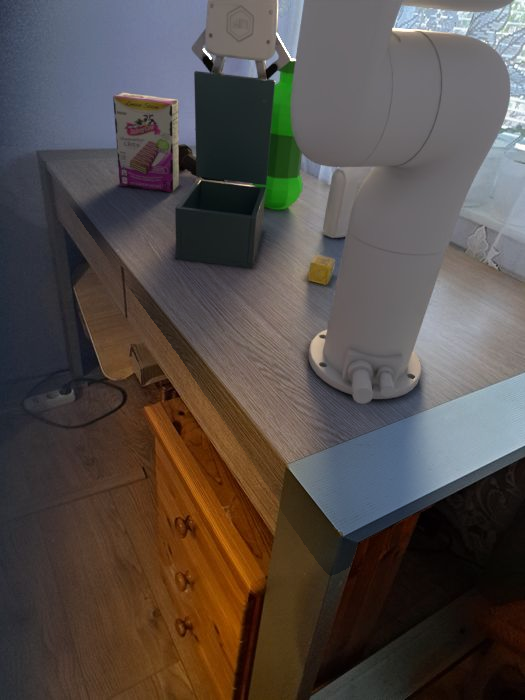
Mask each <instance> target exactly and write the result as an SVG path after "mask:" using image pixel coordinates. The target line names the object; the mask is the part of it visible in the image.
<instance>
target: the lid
mask: <svg viewBox="0 0 525 700" xmlns="http://www.w3.org/2000/svg"><path fill="white" fill-rule="evenodd" d="M193 76H194V78H193V79H194V83H193V84H194V119H195V120H194V122H195V123H194V124H195V126H194V127H195V157H196V176H195V177H196V178H201V177H203V178H211V179H219V180H225V181H226V182H235V183H237V182H238V183H243V184H244V183H246V184H251V185H252V184H261V185H266V184H267V174H268V162H269V150H270V137H271V125H272V113H273V101H274V89H275V85H276V79H271V78H269V79H262V78H258V77H253V76H242V75H235V74H234V75H233V74H225V73H223V74H218V73H210V72H209V71H198V70H195V71H194V72H193ZM203 178H202V179H203Z"/></svg>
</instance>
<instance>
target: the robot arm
mask: <svg viewBox="0 0 525 700" xmlns="http://www.w3.org/2000/svg"><path fill="white" fill-rule="evenodd" d="M515 1H516V0H303V6H302V12H301V20H300V25H299V33H298V38H297V39H298V40H297V41H298V42H297V47H296V53H295V59H296V60H295V67H294V75H293V83H292V92H291V124H292V130H293V135H294V138H295V141H296V144H297V146H298V148H299V149H300V151H301V152H302V156H304V157H305V158H307V159H308V160H309V161H310V162H312V163H314V164H317V165H320V166H324V167H328V168H329V167H331V168H339V167H373V169H372V170H371V172H370V173H369V175H368V176H367V178H366V179H365V181H364V182H363V184H362V186H361V187H360V189H359V191H358V193H357V195H356V198H355V200H354V203H353V206H352V209H351V213H350V217H349V222H348V228H347V233H346V236H345V238H344V243H343V248H342V253H341V258H340V264H339V268H338V274H337V279H336V284H335V287H334V288H335V289H334V293H333V298H332V299H333V300H332V304H331V308H330V314H329V319H328V324H327V328H326V329H325V330H322V331H320V332H319V333H317V334H316V335H315V336H314V337H313V339H311V342H310V344H309V348H308V362H309V364H310V366H311V367H310V368H311V369H312V370H313V371H314V373H315V374H316V375H317V376H318V377H319V378H320V379H321V380H322V381H323V382H325V383H326V384H327V385H329V386H331V387H332V388H334V389H336V390H338V391H340V392H343V393H346V394H348V395H350V396H352V398H353V401H354V402H356V403H357V404H368V403H370V402H371V401H372V400H389V399H393V398H399V397H402V396H404V395H406V394H408V393H410V392H412V390H414V389H415V388H416V386H417V385H418V383H419V380H420V378H421V375H422V370H423V369H422V363H421V361H420V359H419V357H418V355H417V354H416V352H415V351H414V349H415V346H416V343H417V341H418V337H419V334H420V331H421V329H422V325H423V322H424V320H425V316H426V312H427V310H428V307H429V303H430V300H431V298H432V294H433V291H434V289H435V286H436V283H437V280H438V277H439V273H440V271H441V268H442V264H443V262H444V259H445V256H446V252H447V250H448V247H449V246H450V242H451V239H452V236H453V234H454V232H455V231H454V230H455V227H456V224H457V222H458V219H459V216H460V213H461V211H462V208H463V205H464V203H465V201H466V198H467V196H468V193H469V191H470V189H471V187H472V185H473V183H474V180H475V178H476V176H477V175H478V173H479V170H480V169H481V167H482V165H483V163H484V162H485V160H486V158H487V157H488V154H489V153H490V151H491V149H492V147H493V146H494V144H495V141H496V139H497V138H498V136H499V134H500V131H501V129H502V127H503V125H504V123H505V119H506V117H507V114H508V110H509V105H510V100H511V79H510V72H509V69H508V67H507V65H506V63H505V60H504V59H503V57H502V56H501V55H500V54H499V52H498V51H497V50H496V49H495V48H494V47H493V46H491V45H490V44H488V43H486V42H485V41H482V40H481V39H478V38H476V37H473V36H469V35H465V34H459V33H456V32H445V31H435V30H424V29H415V28H414V29H405V28H396V27H395V24H396V21H397V19H398V16H399V12H400V10H401V8H402V6H405V7H415V8H422V9H432V10H440V11H450V12H451V11H452V12H463V13H465V12H467V13H487V12H492V11H496V10H500V9H502V8H504V7H507V6H509V5H511V4H512V3H513V2H515ZM205 19H206V20H205V28H204V29H203V31H202V32H201V33H200V35H199V37H197V39H196V40H195V42H194V43H193V44H192V46H191V51H192V53H193V54H194V55H195V56H196V57H197V58H198V59H199V60H200V61H201V62H202V64H203V65H204V66H205V68H206V69H207V70H208V72H209V73H218V74H224V71H223V70H224V68H225V64H226V62H227V58H230V59H239V60H247V61H254V63H255V68H256V73H257V78H262V79H271V78H272V76H274V75H275V74H276V73H277V72H279V71H278V70H279V69H280V68H282V67H283V66H284V65H286V64H287V63H288V62H289V61H290V58H291V56H290V54H289V52H288V50H287V48H286V47H285V45H284V43H283V42H282V40H281V38H280V36H279V34H278V27H279V0H207V5H206V18H205ZM275 53H277V55H278V58H277V59H276V60H275V61H273V62H272V63H271V64H270V65H268V67H267V64H266V61H269V60H271V59H272V58H273V57H274V55H275ZM210 54H211V55H212V56H215V58H213V57H212V56H211V55H210Z"/></svg>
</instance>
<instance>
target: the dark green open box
mask: <svg viewBox="0 0 525 700" xmlns="http://www.w3.org/2000/svg"><path fill="white" fill-rule="evenodd" d="M265 195H266V187H261V186H253V185H252V184H244V183H237V182H235V183H234V182H229V181H225V182H219V181H211V180H204V179H203V178H196V179H195V181H194V182H193V184H192V185H191V186H190V188H189V189H188V190H187V192H186V193H185V195H184V196H183V197H182V198H181V200H179V202H178V204H176V207H175V209H174V217H175V218H174V221H175V224H174V225H175V260H182V261H183V260H185V261H191V262H199V263H208V264H216V265H222V266H223V265H224V266H232V267H239V268H246V269H253V267H254V263H255V259H256V255H257V252H258V248H259V245H260V242H261V237H262V233H263V226H264V215H265V206H264V205H265Z"/></svg>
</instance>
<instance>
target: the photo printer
mask: <svg viewBox="0 0 525 700" xmlns="http://www.w3.org/2000/svg"><path fill="white" fill-rule="evenodd" d="M372 169H373V167H337V168H336V169H335V170H334V172H333V173H332V176H331V181H330V185H329V192H328V197H327V202H326V208H325V213H324V218H323V225H322V231H323V234H324V235H325V236H327V237H329V238H332V239H335V238H336V239H337V238H344V237H345V238H346V233H347V228H348V222H349V217H350V213H351V209H352V206H353V203H354V200H355V198H356V195H357V193H358V191H359V189H360V187H361V186H362V184H363V182H364V181H365V179H366V178H367V176H368V175H369V173H370V172H371V170H372Z"/></svg>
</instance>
